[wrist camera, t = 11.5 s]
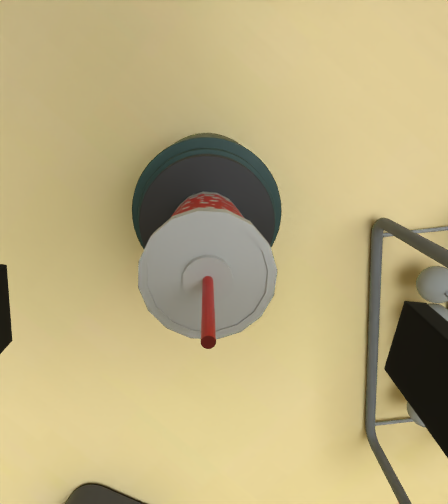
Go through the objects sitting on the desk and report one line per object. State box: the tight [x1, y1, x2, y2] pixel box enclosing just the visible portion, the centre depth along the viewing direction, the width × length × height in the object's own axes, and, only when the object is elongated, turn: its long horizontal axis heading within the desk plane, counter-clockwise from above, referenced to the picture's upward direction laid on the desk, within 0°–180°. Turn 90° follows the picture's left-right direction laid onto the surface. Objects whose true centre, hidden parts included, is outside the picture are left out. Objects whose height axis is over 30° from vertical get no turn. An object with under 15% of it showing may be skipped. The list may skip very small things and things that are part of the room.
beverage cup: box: [138, 192, 277, 349], centre depth 18 cm, size 6×6×14 cm
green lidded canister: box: [132, 133, 281, 249], centre depth 32 cm, size 11×11×14 cm
